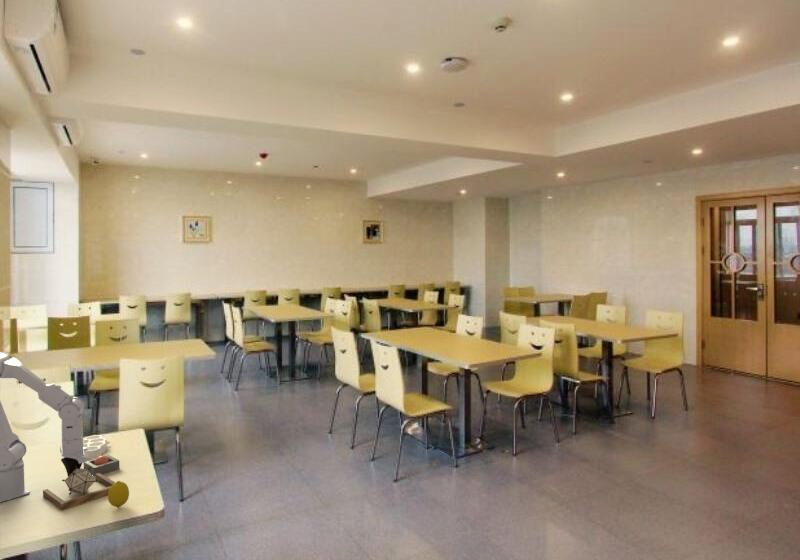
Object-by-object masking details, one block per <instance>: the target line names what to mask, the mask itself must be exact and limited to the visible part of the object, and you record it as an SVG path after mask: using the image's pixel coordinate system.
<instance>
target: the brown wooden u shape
mask: <svg viewBox="0 0 800 560" xmlns="http://www.w3.org/2000/svg"><path fill="white" fill-rule="evenodd" d="M94 480H95V481H96V480H97V481H98V482H97V483H100V484H101V485H103V486H104V487H103V488H101V489H98V490H95V491H92V492H89V493H85V495H83V494H82V495H80V496H76V497H74V498H70V499H67V500H64V499H62V498H61V497H59V496H58V495H57V494H56V493H54V492H52V491H51V490H49V489H48V488H46V489H43V490H42V497H43V498H44V499H45V500H47V501H48V502H49V503H51V504H52V505H53V506H55V507H56V508H58V510H61V511H62V510H63V511H65V509H66V510H69V509H71V508H70V507H72V508H74V507H77V506H79V504H80V505H83V504H86V503H88V502H87V501H89V502H92V501H94V500H97V499H101V498H103V497H106V496H108V492H109V489H110V487H111V486H112V485H113V484H114V483H116V482H115V481H114V480H112V479H111V478H109V477H107V476H105V475H104V474H100V473H97V474H95V477H94ZM91 500H92V501H91ZM85 502H86V503H85ZM82 503H83V504H82ZM76 505H77V506H76ZM73 506H74V507H73ZM68 508H69V509H68Z"/></svg>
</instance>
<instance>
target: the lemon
mask: <svg viewBox="0 0 800 560" xmlns="http://www.w3.org/2000/svg"><path fill="white" fill-rule="evenodd" d="M129 496H130V489H129V486H128V485H127V483H125V482H123V481H121V480H118V481H116V482H115V483H114V484H113V485H112V486H111V487H110V489H109V492H108V495H107V500H108V503H109V504H110V505H111V506H112V507H115V508H117V509H120V508H121V507H122V506H123V505H125V504H126V503H127V501H128V500H129ZM119 507H120V508H119Z"/></svg>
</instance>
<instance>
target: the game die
mask: <svg viewBox="0 0 800 560" xmlns="http://www.w3.org/2000/svg"><path fill="white" fill-rule="evenodd" d="M75 468H76V469H75V470H74V471H73V472H72V473H71V474H70V475H69V476H68V475H67V477H66V478H65V479H61V482H64V483H65V484H66V486H67V488H68V491H69V493H68V495H69V496H70V495H72V494H73V493H74V494H82V495H85V494H86V492H87V491H88V490H89V489H90V487H91V486H92V485H94V483H99V482H98V481H97V480H95V477H94V476H92V474H91V471H90V469H91V467H90V468H89V469H84V468H80V469H78V468H77V467H76V466H75Z"/></svg>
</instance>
